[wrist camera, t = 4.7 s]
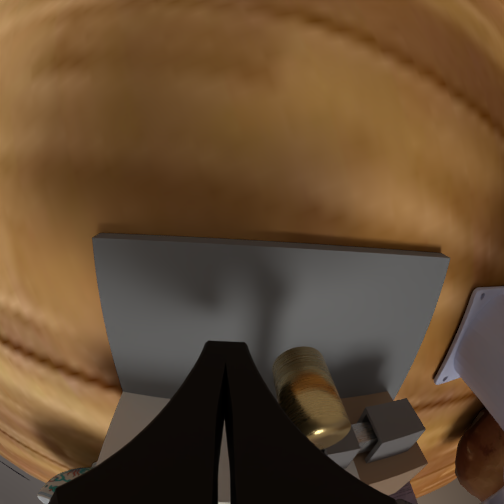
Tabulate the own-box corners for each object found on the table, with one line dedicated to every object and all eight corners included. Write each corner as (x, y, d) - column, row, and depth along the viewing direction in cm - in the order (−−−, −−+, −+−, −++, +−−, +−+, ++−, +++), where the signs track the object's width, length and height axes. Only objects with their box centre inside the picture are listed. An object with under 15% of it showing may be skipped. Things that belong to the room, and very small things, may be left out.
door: (441, 253, 12) (535, 312, 6) (375, 417, 16) (407, 487, 10) (100, 233, 11) (-7, 306, 4) (138, 420, 15) (117, 504, 8)
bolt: (451, 330, 9) (492, 371, 6) (400, 424, 11) (421, 464, 8) (272, 344, 8) (286, 420, 5) (255, 445, 10) (260, 500, 7)
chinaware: (34, 430, 16) (10, 480, 9) (141, 442, 16) (124, 523, 9) (111, 493, 21) (102, 535, 14) (213, 501, 21) (213, 554, 13)
